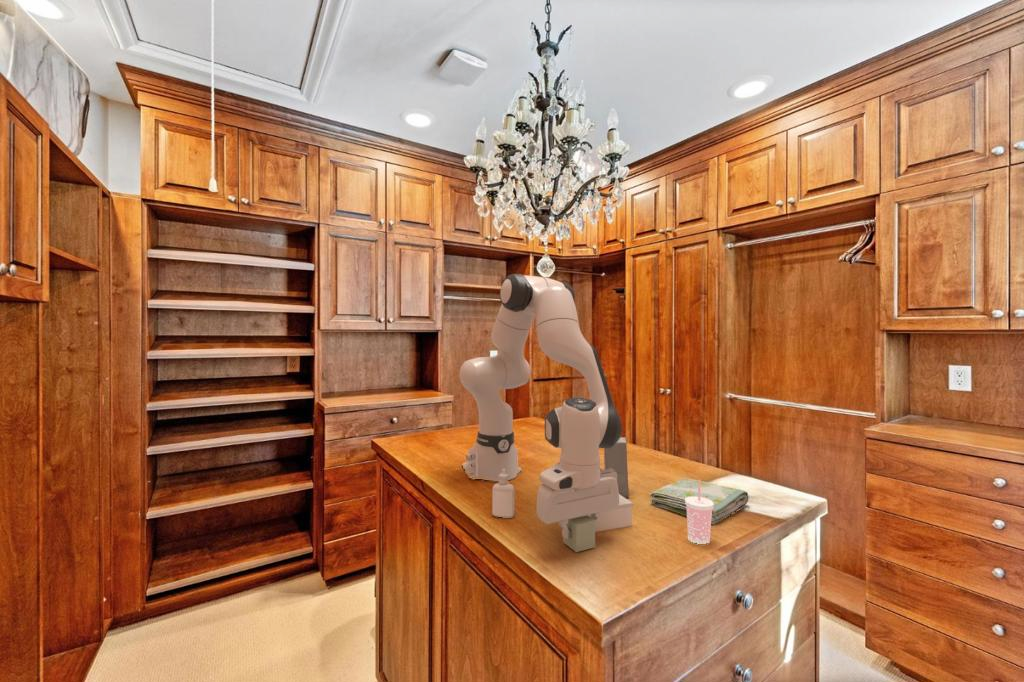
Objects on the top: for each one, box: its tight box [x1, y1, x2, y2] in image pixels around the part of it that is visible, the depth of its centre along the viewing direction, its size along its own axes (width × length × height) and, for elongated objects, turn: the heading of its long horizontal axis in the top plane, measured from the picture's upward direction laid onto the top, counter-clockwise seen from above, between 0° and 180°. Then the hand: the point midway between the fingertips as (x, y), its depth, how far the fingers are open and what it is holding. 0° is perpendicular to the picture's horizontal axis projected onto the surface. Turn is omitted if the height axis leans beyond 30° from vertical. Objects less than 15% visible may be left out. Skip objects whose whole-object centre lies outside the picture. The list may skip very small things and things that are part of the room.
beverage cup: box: [685, 478, 714, 545], centre depth 102 cm, size 6×6×14 cm
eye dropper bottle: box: [491, 469, 516, 519], centre depth 115 cm, size 4×6×12 cm
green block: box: [562, 515, 596, 553], centre depth 99 cm, size 5×5×6 cm
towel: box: [649, 477, 750, 525], centre depth 123 cm, size 18×21×5 cm
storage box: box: [588, 494, 634, 533], centre depth 114 cm, size 13×13×6 cm
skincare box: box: [603, 436, 630, 499], centre depth 132 cm, size 8×7×16 cm
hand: (579, 534), depth 99 cm, fingers closed on green block, 5 cm apart
